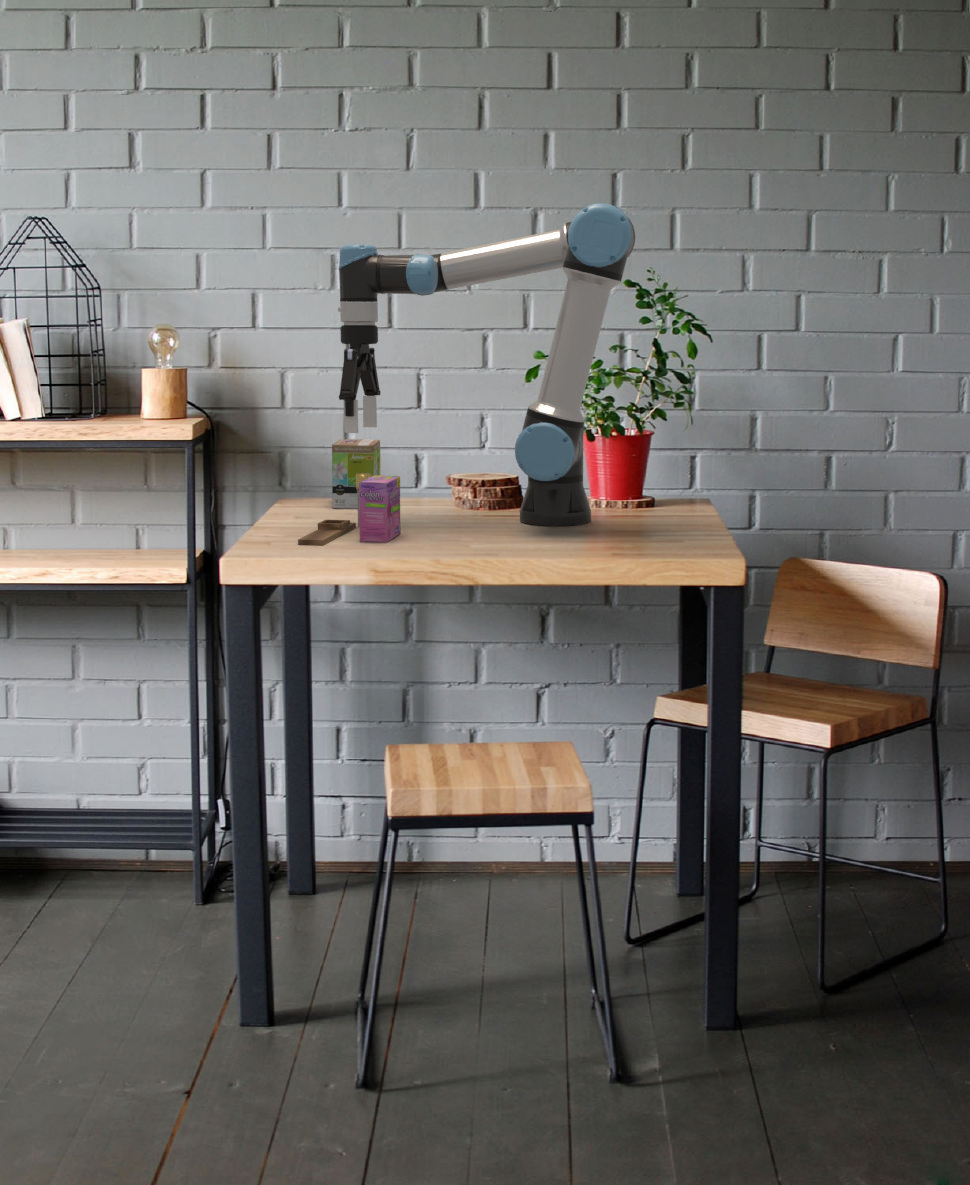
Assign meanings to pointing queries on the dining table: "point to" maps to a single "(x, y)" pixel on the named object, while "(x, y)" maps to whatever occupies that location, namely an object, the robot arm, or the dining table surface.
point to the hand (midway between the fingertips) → (360, 430)
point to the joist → (327, 532)
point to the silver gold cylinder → (359, 478)
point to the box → (379, 508)
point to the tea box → (352, 468)
